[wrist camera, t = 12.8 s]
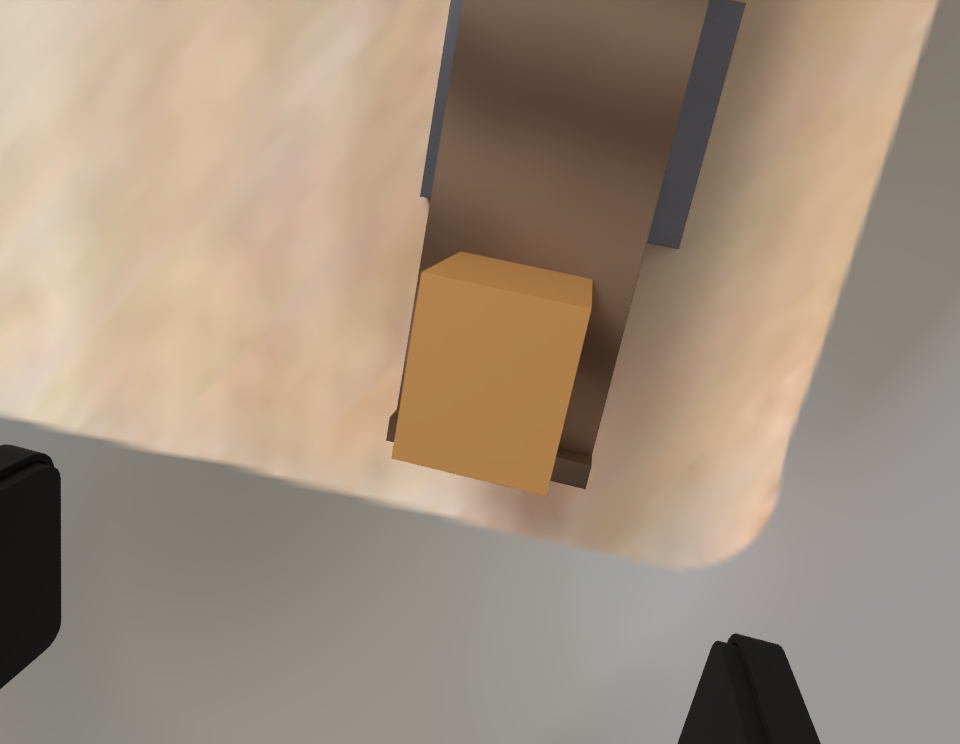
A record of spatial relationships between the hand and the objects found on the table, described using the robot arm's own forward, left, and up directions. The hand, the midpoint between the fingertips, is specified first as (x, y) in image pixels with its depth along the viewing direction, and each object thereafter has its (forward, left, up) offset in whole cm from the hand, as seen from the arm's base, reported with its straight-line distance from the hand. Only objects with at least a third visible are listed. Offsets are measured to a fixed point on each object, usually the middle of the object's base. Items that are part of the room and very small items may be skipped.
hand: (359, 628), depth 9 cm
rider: (0, 0, -18) cm, 18 cm away
